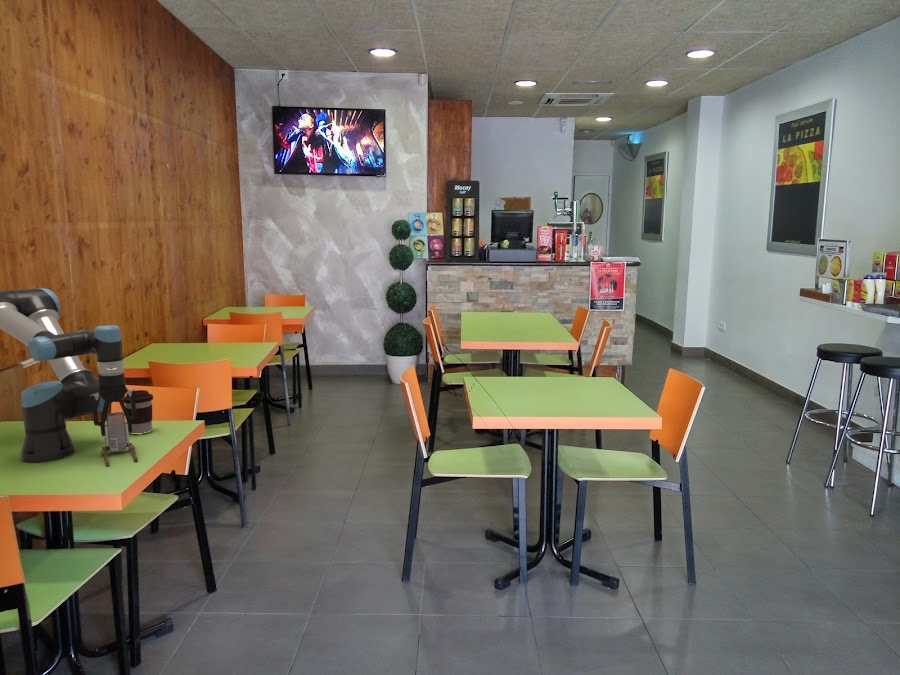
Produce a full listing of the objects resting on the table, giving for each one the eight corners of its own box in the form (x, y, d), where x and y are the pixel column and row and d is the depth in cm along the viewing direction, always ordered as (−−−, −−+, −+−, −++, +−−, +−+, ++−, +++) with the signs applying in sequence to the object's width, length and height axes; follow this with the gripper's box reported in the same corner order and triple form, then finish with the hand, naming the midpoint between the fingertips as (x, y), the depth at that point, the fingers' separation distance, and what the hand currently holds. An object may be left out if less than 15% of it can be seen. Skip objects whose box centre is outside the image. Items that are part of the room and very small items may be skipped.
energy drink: (120, 446, 231) (117, 411, 230) (130, 448, 229) (127, 413, 227) (105, 450, 227) (102, 415, 225) (115, 453, 224) (112, 416, 222)
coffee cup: (134, 429, 257) (130, 389, 255) (160, 428, 257) (157, 388, 255) (120, 436, 247) (116, 395, 245) (148, 436, 247) (144, 394, 245)
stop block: (106, 450, 231) (105, 439, 230) (105, 449, 232) (104, 437, 232) (128, 447, 234) (127, 435, 233) (128, 445, 236) (127, 434, 235)
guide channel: (105, 467, 213) (104, 462, 213) (101, 450, 231) (100, 446, 231) (139, 461, 218) (138, 457, 218) (132, 445, 235) (132, 441, 235)
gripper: (79, 378, 217) (86, 451, 220) (143, 372, 225) (149, 441, 229) (79, 375, 223) (85, 445, 226) (141, 368, 232) (146, 436, 235)
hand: (117, 443), depth 228 cm, fingers closed on energy drink, 5 cm apart
